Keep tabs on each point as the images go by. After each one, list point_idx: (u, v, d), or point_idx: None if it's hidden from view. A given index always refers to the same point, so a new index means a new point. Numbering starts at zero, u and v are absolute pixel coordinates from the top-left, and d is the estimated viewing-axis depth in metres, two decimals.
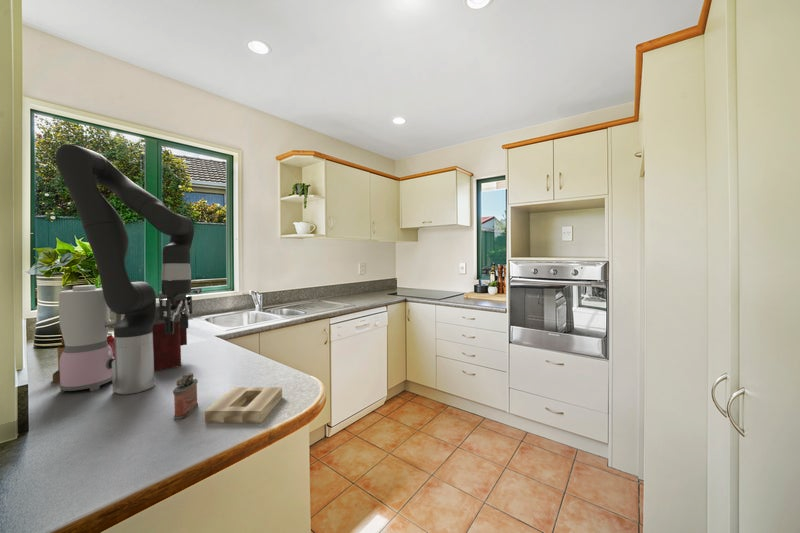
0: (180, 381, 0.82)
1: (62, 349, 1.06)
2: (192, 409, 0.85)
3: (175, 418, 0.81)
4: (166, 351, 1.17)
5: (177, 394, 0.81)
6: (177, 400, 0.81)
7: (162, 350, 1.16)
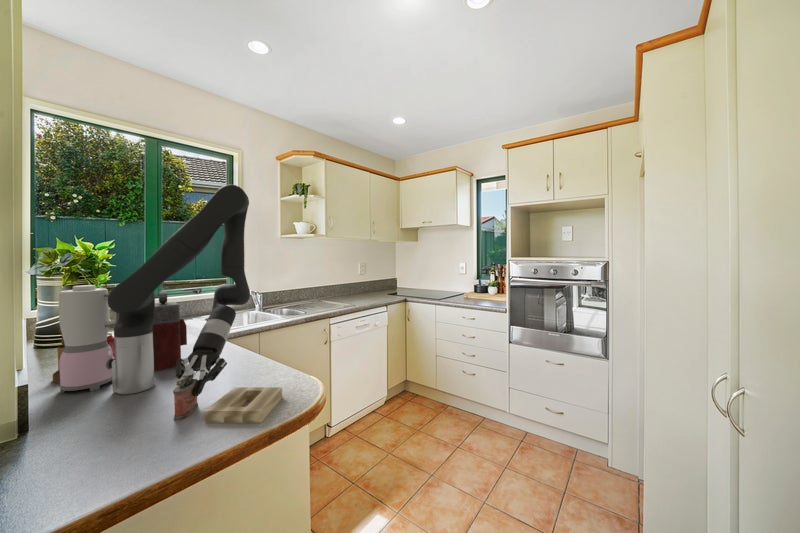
0: (180, 381, 0.82)
1: (62, 349, 1.06)
2: (192, 409, 0.85)
3: (175, 418, 0.81)
4: (166, 351, 1.17)
5: (177, 394, 0.81)
6: (177, 400, 0.81)
7: (162, 350, 1.16)
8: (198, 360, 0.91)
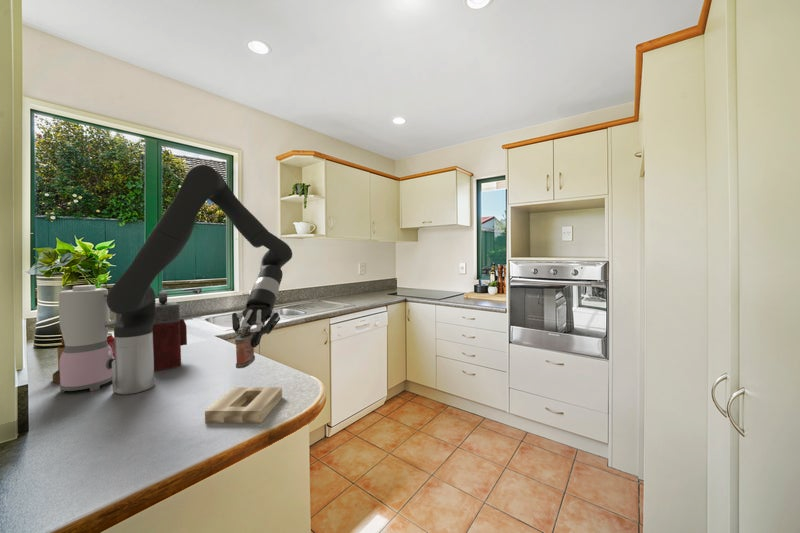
0: (241, 330, 0.83)
1: (62, 349, 1.06)
2: (251, 359, 0.87)
3: (237, 366, 0.83)
4: (166, 351, 1.17)
5: (239, 342, 0.82)
6: (239, 348, 0.83)
7: (162, 350, 1.16)
8: (253, 314, 0.92)
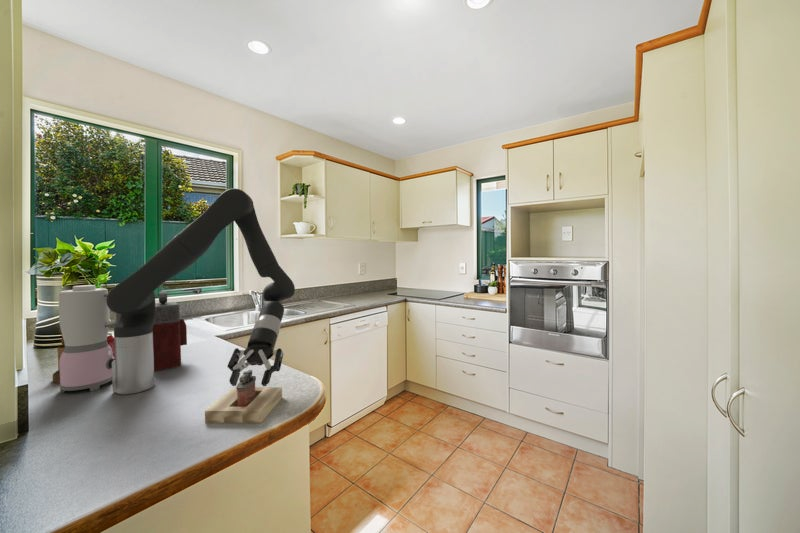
0: (243, 378, 0.84)
1: (62, 349, 1.06)
2: None
3: None
4: (166, 351, 1.17)
5: (241, 390, 0.83)
6: (240, 396, 0.83)
7: (162, 350, 1.16)
8: (254, 355, 0.93)
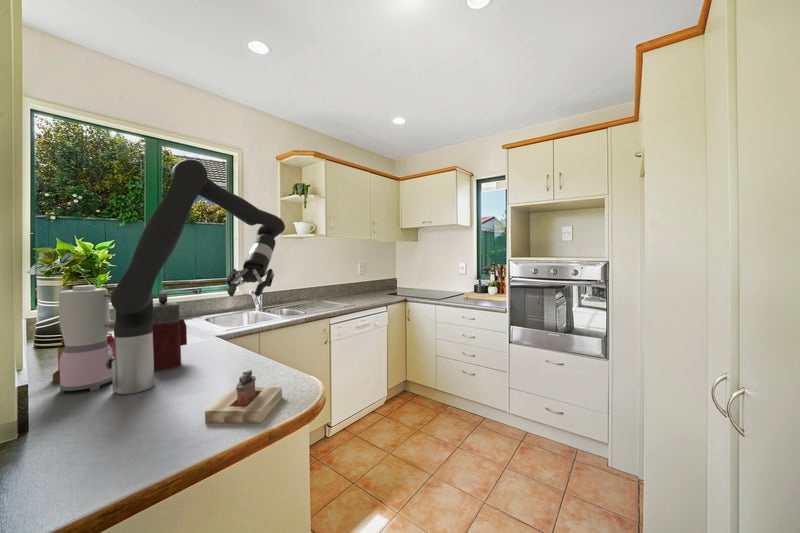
0: (242, 378, 0.84)
1: (62, 349, 1.06)
2: None
3: None
4: (166, 351, 1.17)
5: (240, 390, 0.83)
6: (240, 396, 0.83)
7: (162, 350, 1.16)
8: (249, 273, 1.08)
